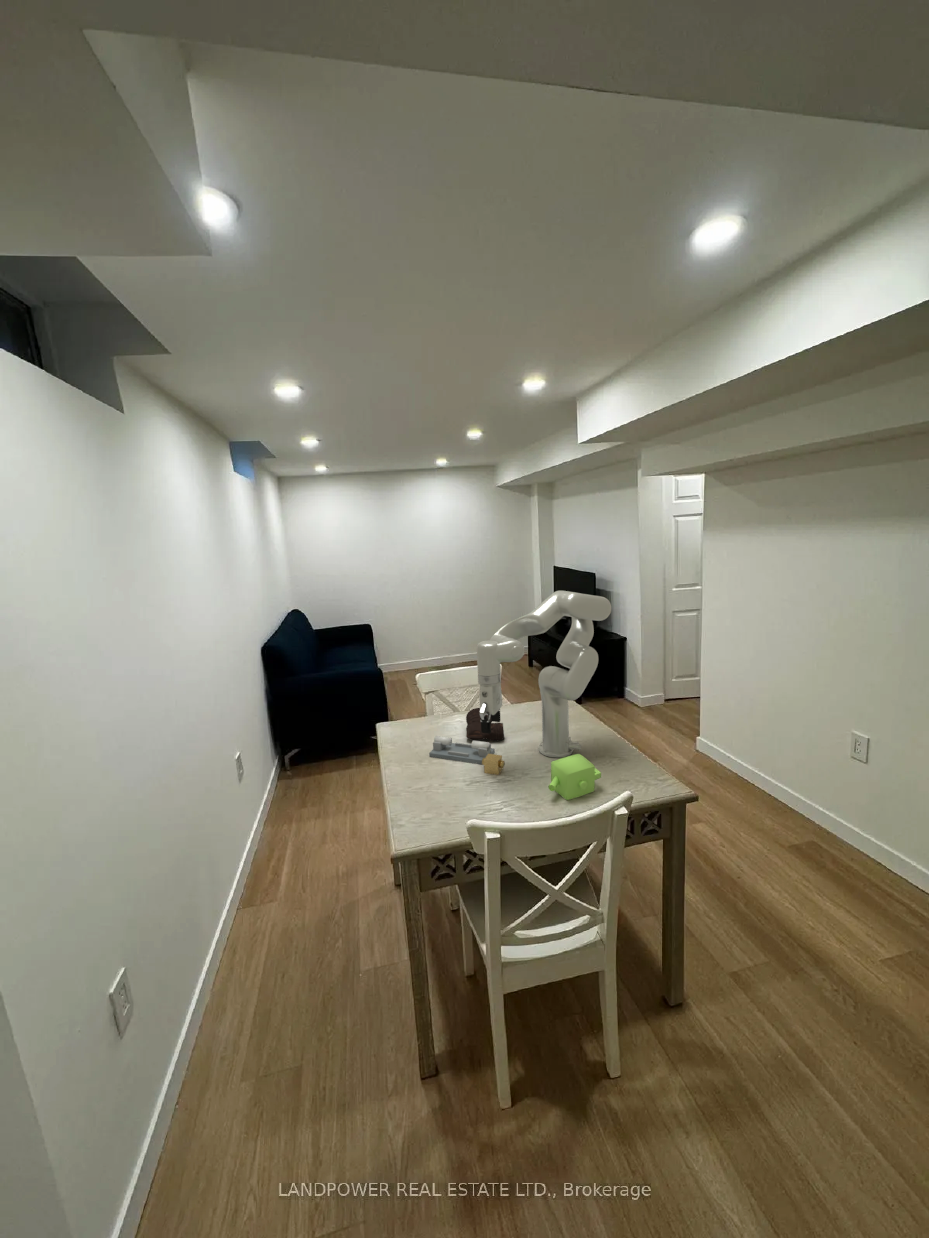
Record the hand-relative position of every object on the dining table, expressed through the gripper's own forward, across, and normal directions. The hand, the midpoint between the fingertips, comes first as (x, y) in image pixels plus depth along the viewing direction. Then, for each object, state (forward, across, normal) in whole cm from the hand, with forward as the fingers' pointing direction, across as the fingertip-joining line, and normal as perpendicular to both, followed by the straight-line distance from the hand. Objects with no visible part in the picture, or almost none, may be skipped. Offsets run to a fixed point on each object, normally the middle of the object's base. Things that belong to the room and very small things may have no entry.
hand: (491, 726), depth 165 cm
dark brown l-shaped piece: (+16, +26, +12) cm, 33 cm away
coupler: (+16, 0, 0) cm, 16 cm away
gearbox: (+16, -5, -28) cm, 33 cm away
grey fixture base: (+16, +8, +15) cm, 23 cm away
